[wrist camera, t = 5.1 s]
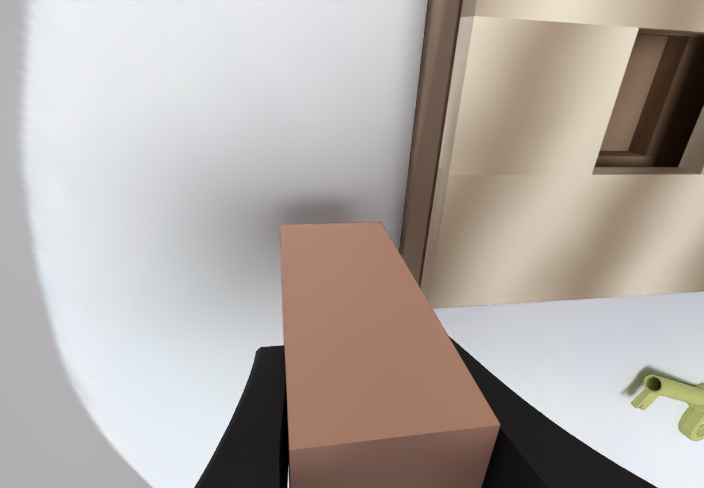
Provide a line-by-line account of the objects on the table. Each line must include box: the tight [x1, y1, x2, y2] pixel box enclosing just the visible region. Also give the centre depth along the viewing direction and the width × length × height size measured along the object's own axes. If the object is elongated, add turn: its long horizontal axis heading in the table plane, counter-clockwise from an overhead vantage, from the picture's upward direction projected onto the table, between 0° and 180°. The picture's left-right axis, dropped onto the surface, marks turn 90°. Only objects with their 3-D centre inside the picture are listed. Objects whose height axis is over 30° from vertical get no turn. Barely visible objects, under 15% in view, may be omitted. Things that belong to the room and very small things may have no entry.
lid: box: [420, 0, 704, 309], centre depth 14 cm, size 16×16×4 cm
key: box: [631, 374, 704, 441], centre depth 30 cm, size 7×12×2 cm, turn 81°
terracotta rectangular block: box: [280, 222, 500, 488], centre depth 11 cm, size 4×4×8 cm
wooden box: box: [399, 0, 704, 288], centre depth 17 cm, size 16×16×3 cm
